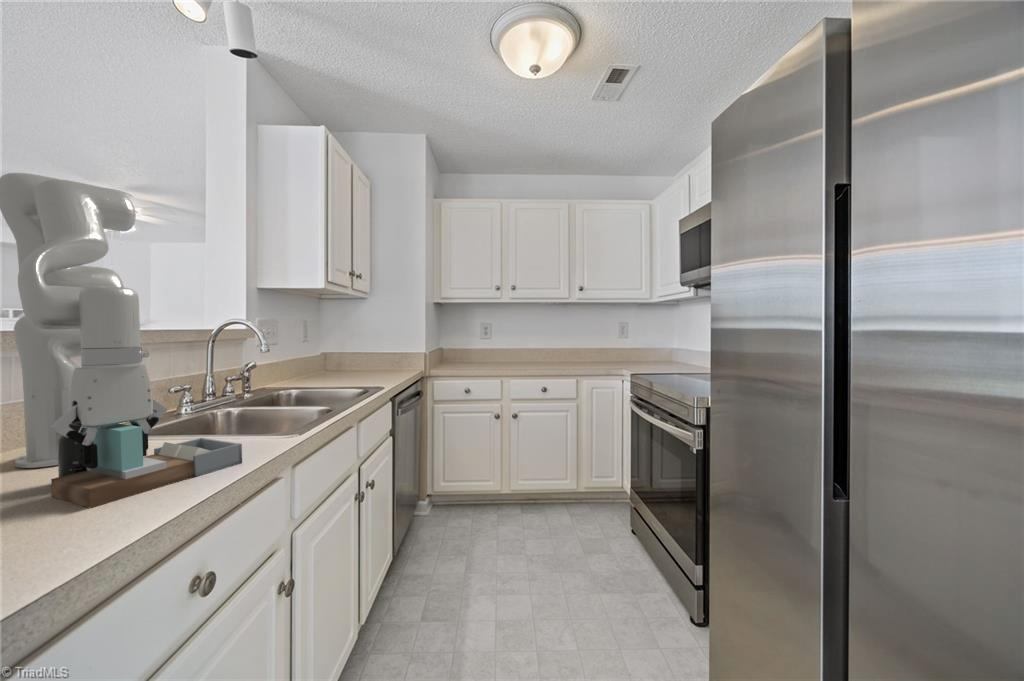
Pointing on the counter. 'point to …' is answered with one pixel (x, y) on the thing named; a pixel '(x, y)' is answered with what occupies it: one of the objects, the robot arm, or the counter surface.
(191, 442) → the tray
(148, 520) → the counter surface
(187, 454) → the tile
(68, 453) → the supplement bottle
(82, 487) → the board
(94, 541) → the counter surface
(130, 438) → the teal cube on plate
